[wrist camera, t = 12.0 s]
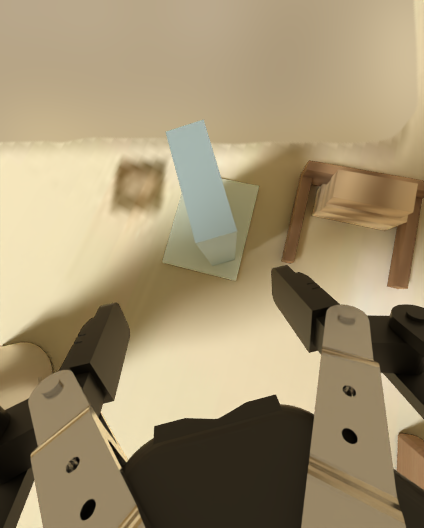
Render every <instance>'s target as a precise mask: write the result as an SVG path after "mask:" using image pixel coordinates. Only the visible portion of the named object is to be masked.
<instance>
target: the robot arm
mask: <svg viewBox="0 0 424 528" xmlns="http://www.w3.org/2000/svg"><path fill="white" fill-rule="evenodd" d="M271 276H272V295H273V299H274V302H275V304H276V305H277V307H278V308H279V310H280V311H281V313H282V314H283V315H284V317H285V318H286V320H287V321H288V323H289V324H290V326H291V327H292V329H293V330H294V331H295V333H296V334H297V336H298V337H299V339H300V340H301V342H302V343H303V345H304V346H305V348H306V349H307V350H308V352H309V353H310V352H314V351H319V352H320V354H321V362H320V370H319V379H318V388H317V396H316V405H315V413H314V414H312V413H310V412H309V411H306V410H304V409H301V408H298V407H295V406H290V405H282V404H280V403H279V401H278V399H277V396H276V395H272V396H268V397H264V398H261V399H257V400H253V401H249V402H246V403H244V404H243V405H241V406H239V407H238V408H236V409H234V410H233V411H231V412H229V413H227V414H226V415H224V416H222V417H221V418H218V419H193V418H184V419H180V420H177V421H173V422H169V423H165V424H161V425H157V426H154V438H153V439H151V440H150V441H148V442H147V443H146V444H144V445H143V446H142V447H141V448H140V449H138V450H137V451H136V452H135V453H134V454H133V455H132V456H131V458H130V459H129V460H128V458H127V457H126V455H125V454H124V452H123V450H122V449H121V447H120V445H119V443H118V441H117V440H116V438H115V436H114V434H113V432H112V431H111V429H110V427H109V425H108V423H107V421H106V420H105V418H104V416H103V414H102V413H101V409H102V405H103V404H104V403H108V402H112V401H114V399H115V395H116V391H117V387H118V383H119V379H120V375H121V371H122V367H123V363H124V359H125V355H126V350H127V346H128V342H129V338H130V329H129V326H128V323H127V321H126V319H125V317H124V314H123V312H122V310H121V308H120V306H119V304H118V303H112V304H107V305H103V306H100V307H99V309H98V311H97V313H96V315H95V317H94V318H91V319H90V320H89V321H88V322H87V323H86V324H85V325H84V326H83V327H82V329H81V331H80V332H79V334H78V337H77V338H76V340H75V342H74V345H72V347H71V349H70V351H69V353H68V355H67V357H66V358H65V360H64V362H63V364H62V366H61V368H60V370H59V371H58V372H55V373H53V371H52V365H51V363H50V360H49V358H48V356H47V355H46V353H45V352H44V351H43V350H42V349H41V348H40V347H38V346H37V345H35V344H32V343H28V342H20V343H15V344H11V345H6V346H0V528H16V526H17V523H18V520H19V518H20V515H21V513H22V510H23V508H24V505H25V503H26V500H27V497H28V495H29V492H30V490H31V487H32V485H33V482H34V480H35V486H36V491H37V496H38V502H39V507H40V513H41V518H42V523H43V528H424V490H423V489H422V488H421V487H419V486H418V485H416V484H415V483H413V482H412V481H410V480H409V479H408V478H406V477H405V476H403V475H402V474H400V473H399V472H397V471H396V470H395V469H393V464H392V456H391V448H390V441H389V433H388V426H387V418H386V410H385V403H384V395H383V388H382V380H381V373H383V374H384V375H385V376H386V377H387V378H388V379H389V380H390V381H391V383H392V384H393V385H394V386H395V387H396V388H397V389H398V391H399V392H400V393H401V394H402V395H403V396H404V397H405V398H406V400H407V401H408V402H409V403H410V404H411V405H412V406H413V408H414V409H415V410H416V411H417V412H418V413H419V414H420V415H421V417H422V418H423V419H424V308H422V307H419V306H415V305H398V306H395V307H394V308H393V309H392V310H391V314H390V316H367V315H366V314H365V313H364V312H363V311H361V310H360V309H358V308H355V307H353V306H349V305H340V304H339V303H338V302H337V301H336V300H334V299H333V298H332V297H331V296H330V295H329V294H328V293H327V292H325V291H324V290H323V289H322V288H320V286H319V285H318V284H317V283H315V282H314V281H313V280H312V279H311V278H310V277H309V276H307V275H305V274H302V273H300V272H297V273H295V272H294V271H293V270H292V269H291V268H290V267H289V266H287V265H285V266H280V267H276V268H272V271H271Z"/></svg>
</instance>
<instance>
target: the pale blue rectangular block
mask: <svg viewBox="0 0 424 528" xmlns="http://www.w3.org/2000/svg"><path fill="white" fill-rule="evenodd" d="M166 135H167V139H168V143H169V146H170V150H171V154H172V158H173V161H174V165H175V169H176V173H177V176H178V180H179V184H180V187H181V191H182V195H183V199H184V202H185V206H186V210H187V214H188V217H189V221H190V225H191V228H192V232H193V236H194V240H195V243H196V245H197V246H198V247H199V249H200V250H201V251H202V253H203V254H204V255H205V257H206V258H207V259H208V261H209V262H210V263H211V265H212V266H214V265H217V264H221V263H224V262H228V261H231V260H235V251H236V240H237V229H236V226H235V222H234V219H233V216H232V212H231V209H230V206H229V202H228V199H227V196H226V192H225V189H224V186H223V182H222V179H221V176H220V173H219V169H218V166H217V163H216V159H215V156H214V153H213V149H212V146H211V143H210V139H209V136H208V133H207V129H206V127H205V123H204V120H201V121H198V122H195V123H192V124H188V125H185V126H182V127H179V128H176V129H173V130H170V131H167V132H166Z"/></svg>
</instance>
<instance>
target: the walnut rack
mask: <svg viewBox="0 0 424 528" xmlns="http://www.w3.org/2000/svg"><path fill="white" fill-rule="evenodd" d="M338 169H339V170H345V171H350V172H356V173H361V174H367V175H373V176H378V177H384V178H389V179H395V180H401V181H406V182H412V183H417V184H418V187H417V193H416V199H415V205H414V211H413V213H411V214H409V215H408V218H407V222H406V223H403V224H401V225H398V226H397V231H396V237H395V243H394V249H393V255H392V261H391V266H390V272H389V278H388V284H387V286H388V287H392V288H397V289H408V283H409V277H410V271H411V265H412V259H413V252H414V246H415V240H416V234H417V227H418V221H419V215H420V209H421V203H422V198H424V181H423V180H417V179H411V178H406V177H400V176H394V175H389V174H383V173H377V172H372V171H366V170H360V169H355V168H349V167H343V166H338V165H332V164H326V163H321V162H315V161H308V163H307V164H306V166H305V168H304V170H303V171H302V173H301V176H300V180H299V185H298V189H297V194H296V198H295V203H294V207H293V211H292V216H291V220H290V225H289V229H288V234H287V238H286V242H285V247H284V251H283V256H282V260H281V261H282V262H286V263H290V264H291V263H293V262H294V259H295V255H296V250H297V246H298V241H299V237H300V232H301V228H302V223H303V218H304V214H305V209H306V205H307V200H308V196H309V191H310V187H311V184H312V185H317V186H321V185H322V184H328V182H329V181H330V180H331V177H332V176H333V175H334V174H335V173H336V172H337V170H338Z"/></svg>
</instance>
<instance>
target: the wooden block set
mask: <svg viewBox="0 0 424 528" xmlns="http://www.w3.org/2000/svg"><path fill="white" fill-rule="evenodd" d="M397 472H399V473H400V474H402V475H403V476H405V477H406V478H408V479H409V480H410V481H412V482H413V483H415V484H416V485H418V486H419V487H421V488H422V489H423V490H424V441H423V440H422V439H421V438H419V437H417V436H414V435H409V434H404V433H401V434H399V435H398V454H397Z"/></svg>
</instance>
